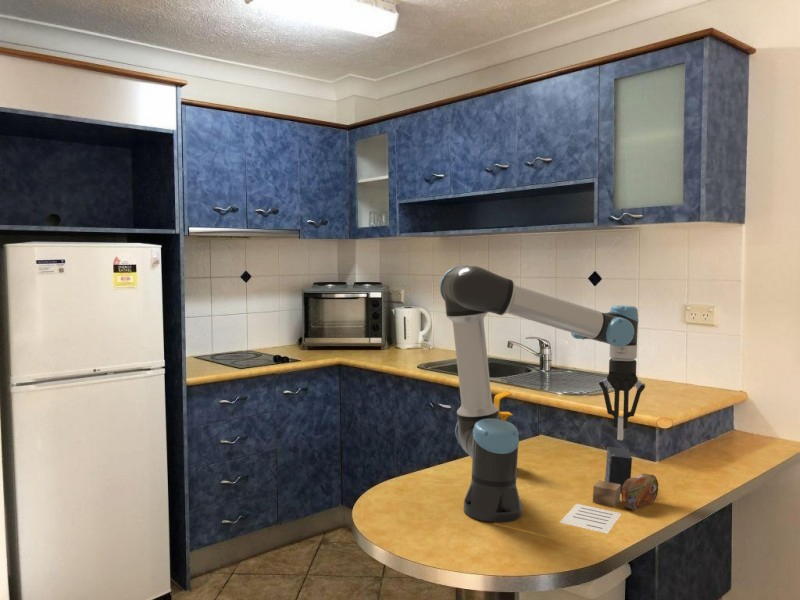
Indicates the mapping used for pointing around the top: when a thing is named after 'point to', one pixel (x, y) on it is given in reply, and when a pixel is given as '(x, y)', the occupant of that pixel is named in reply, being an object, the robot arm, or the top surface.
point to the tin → (639, 491)
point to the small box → (618, 465)
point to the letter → (591, 518)
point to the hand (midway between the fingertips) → (620, 438)
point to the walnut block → (606, 493)
